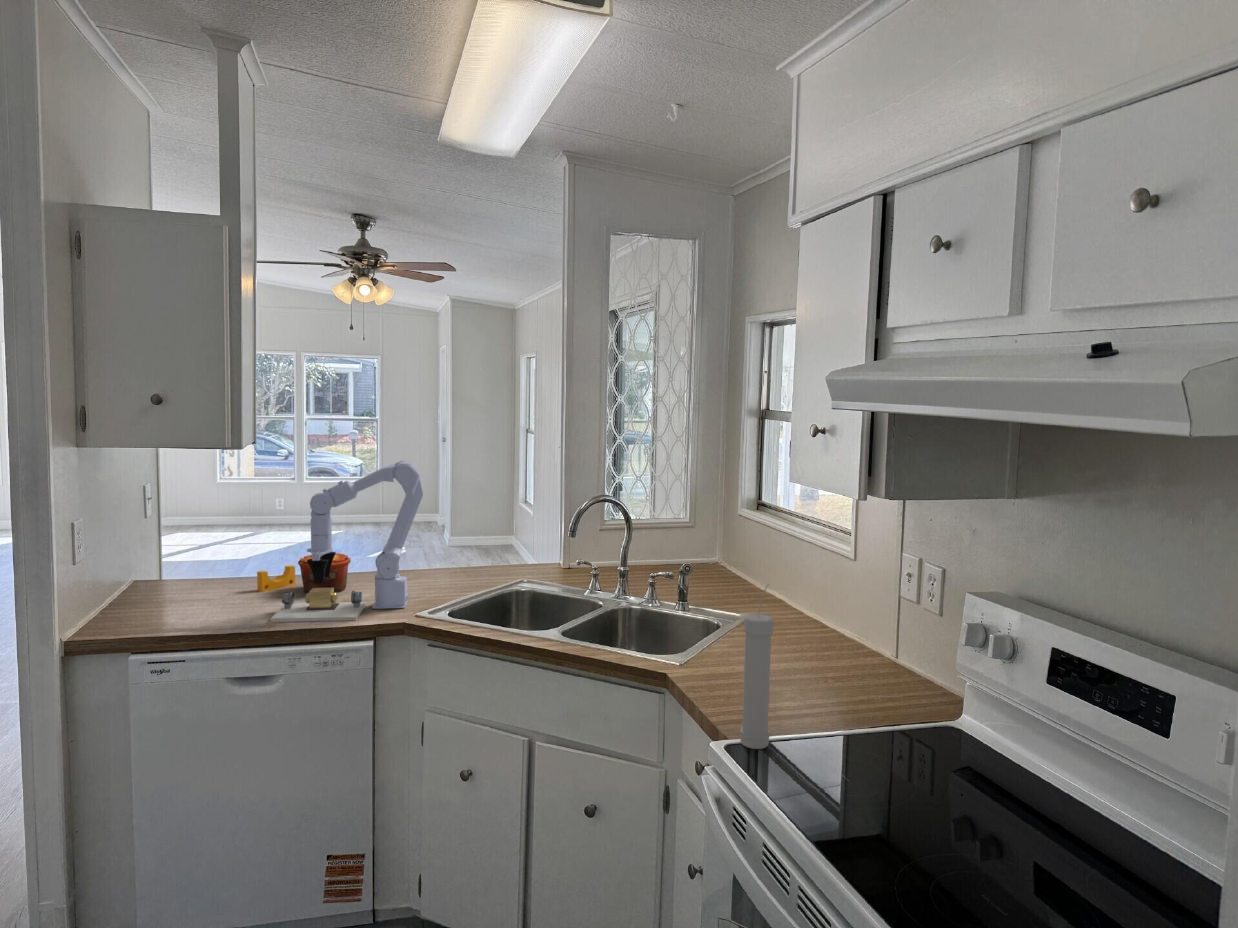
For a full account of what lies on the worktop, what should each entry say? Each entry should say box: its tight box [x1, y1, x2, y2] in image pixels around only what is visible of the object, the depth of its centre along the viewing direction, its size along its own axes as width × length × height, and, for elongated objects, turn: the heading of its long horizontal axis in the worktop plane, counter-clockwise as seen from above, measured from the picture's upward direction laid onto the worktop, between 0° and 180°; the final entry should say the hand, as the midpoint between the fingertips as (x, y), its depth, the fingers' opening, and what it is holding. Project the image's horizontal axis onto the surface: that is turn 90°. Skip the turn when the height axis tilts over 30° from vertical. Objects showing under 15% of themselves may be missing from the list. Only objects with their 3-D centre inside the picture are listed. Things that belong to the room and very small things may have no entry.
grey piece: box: [739, 583, 774, 750], centre depth 147 cm, size 6×6×30 cm
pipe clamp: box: [256, 564, 296, 593], centre depth 259 cm, size 12×4×6 cm, turn 148°
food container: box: [297, 552, 351, 594], centre depth 256 cm, size 16×16×11 cm
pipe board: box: [270, 590, 367, 623], centre depth 229 cm, size 23×16×6 cm
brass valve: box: [305, 588, 339, 608], centre depth 232 cm, size 8×4×5 cm, turn 98°
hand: (322, 579), depth 232 cm, fingers open, 7 cm apart
